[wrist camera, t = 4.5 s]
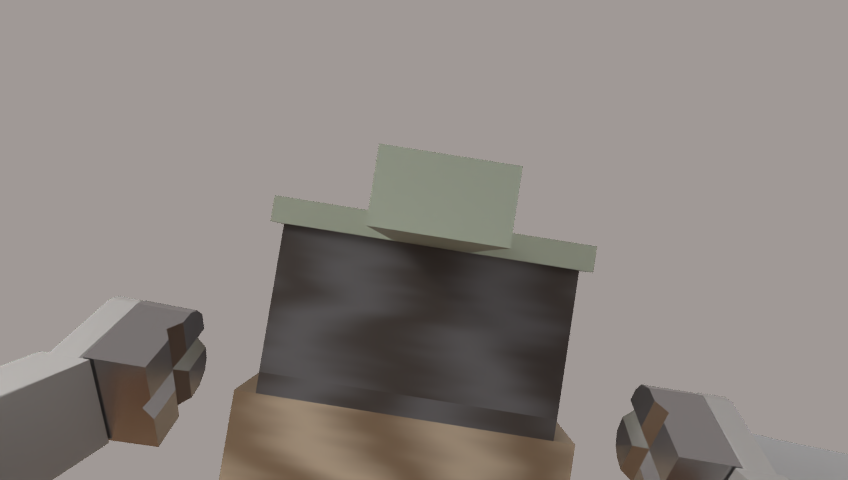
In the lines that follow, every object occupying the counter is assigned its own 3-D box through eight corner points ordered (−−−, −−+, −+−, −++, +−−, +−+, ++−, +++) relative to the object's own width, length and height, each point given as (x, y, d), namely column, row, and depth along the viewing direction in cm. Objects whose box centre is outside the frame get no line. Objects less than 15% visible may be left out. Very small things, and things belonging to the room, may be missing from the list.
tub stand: (166, 786, 23) (263, 220, 24) (265, 584, 37) (323, 233, 38) (516, 844, 23) (600, 273, 23) (481, 619, 37) (534, 267, 37)
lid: (129, 187, 12) (144, 106, 12) (331, 235, 38) (335, 209, 38) (748, 286, 12) (759, 203, 12) (526, 266, 38) (530, 240, 38)
